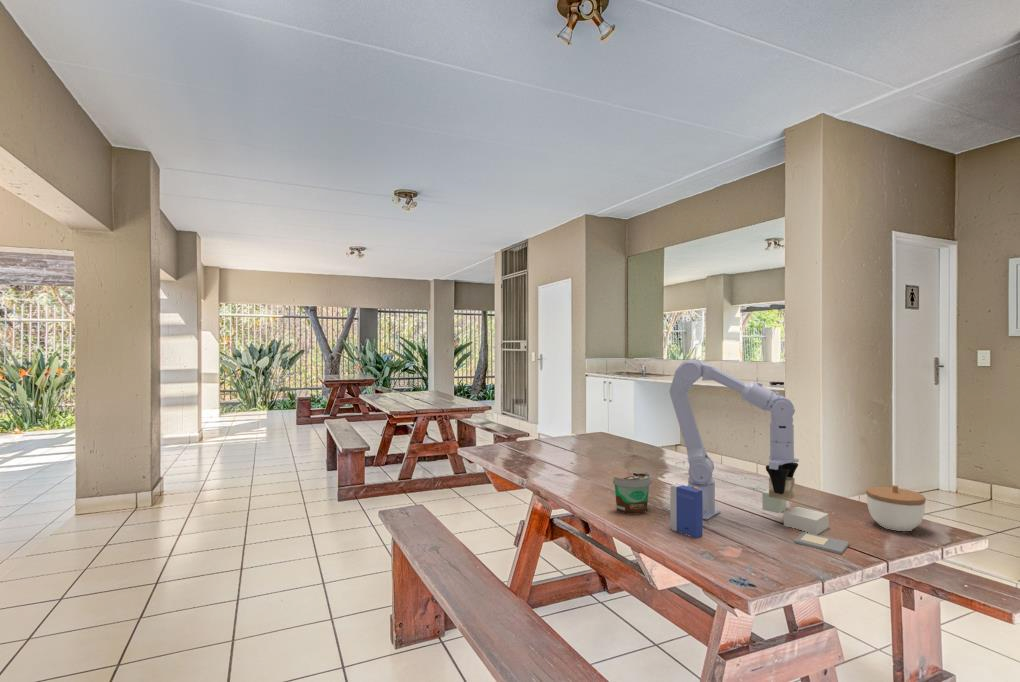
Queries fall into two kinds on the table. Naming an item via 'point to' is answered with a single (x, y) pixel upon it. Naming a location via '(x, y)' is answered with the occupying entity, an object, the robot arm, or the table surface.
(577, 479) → the table surface
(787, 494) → the birch cube
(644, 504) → the food container
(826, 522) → the base block
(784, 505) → the sage cube
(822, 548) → the card
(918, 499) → the lidded bowl
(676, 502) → the walkman
